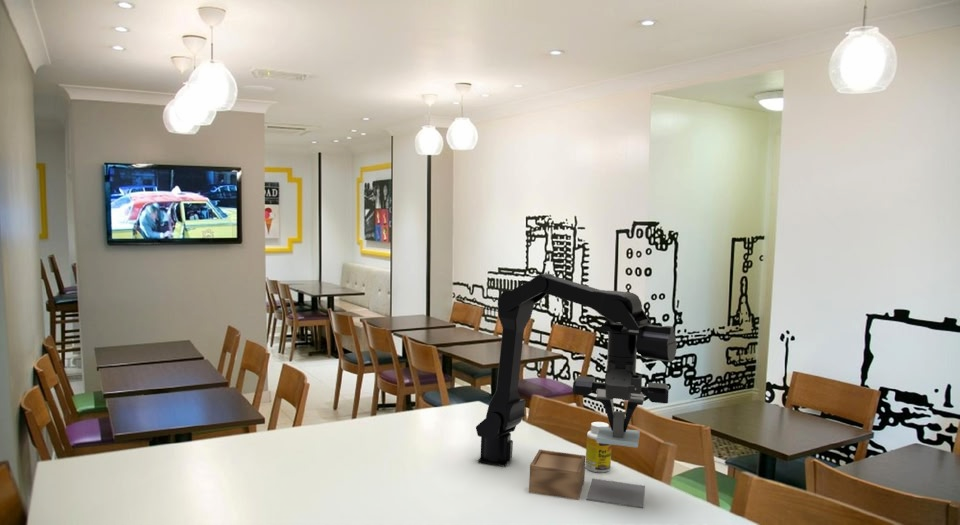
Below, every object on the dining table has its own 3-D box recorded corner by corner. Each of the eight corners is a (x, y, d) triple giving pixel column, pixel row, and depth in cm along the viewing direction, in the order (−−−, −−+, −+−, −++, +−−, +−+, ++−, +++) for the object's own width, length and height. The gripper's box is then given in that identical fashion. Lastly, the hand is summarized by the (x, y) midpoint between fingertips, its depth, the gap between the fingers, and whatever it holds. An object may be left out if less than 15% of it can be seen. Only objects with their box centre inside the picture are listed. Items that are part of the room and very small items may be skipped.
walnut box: (528, 492, 133) (530, 465, 133) (538, 474, 143) (539, 449, 142) (578, 499, 130) (579, 472, 130) (584, 481, 140) (585, 455, 140)
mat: (586, 499, 130) (586, 498, 130) (592, 479, 141) (592, 478, 141) (643, 508, 127) (643, 506, 127) (644, 487, 138) (644, 485, 138)
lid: (596, 442, 131) (597, 417, 130) (600, 431, 138) (601, 407, 138) (637, 447, 128) (638, 422, 128) (639, 435, 136) (640, 411, 136)
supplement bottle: (597, 475, 144) (599, 429, 143) (580, 466, 148) (582, 422, 148) (615, 470, 147) (617, 425, 146) (598, 462, 151) (600, 419, 151)
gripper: (570, 358, 127) (567, 437, 128) (669, 366, 122) (666, 449, 123) (577, 348, 138) (574, 421, 139) (669, 356, 133) (666, 431, 134)
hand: (618, 430), depth 133 cm, fingers closed on lid
